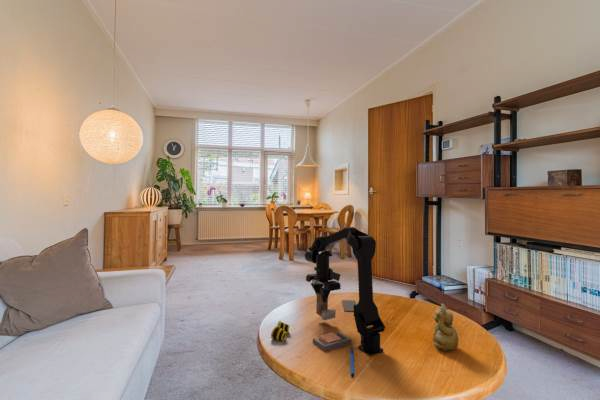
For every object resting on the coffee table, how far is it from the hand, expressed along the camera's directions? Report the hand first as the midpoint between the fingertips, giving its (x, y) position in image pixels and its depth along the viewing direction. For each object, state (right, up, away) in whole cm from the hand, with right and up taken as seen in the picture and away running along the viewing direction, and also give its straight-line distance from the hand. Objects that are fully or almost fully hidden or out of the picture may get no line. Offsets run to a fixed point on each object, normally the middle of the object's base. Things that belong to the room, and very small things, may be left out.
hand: (322, 301), depth 132 cm
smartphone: (+15, -10, +19) cm, 26 cm away
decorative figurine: (+43, -9, -22) cm, 49 cm away
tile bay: (+2, -9, -20) cm, 22 cm away
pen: (+7, -9, -33) cm, 35 cm away
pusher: (+1, -6, -2) cm, 6 cm away
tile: (+2, -9, -19) cm, 21 cm away
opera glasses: (-17, -9, -15) cm, 24 cm away
